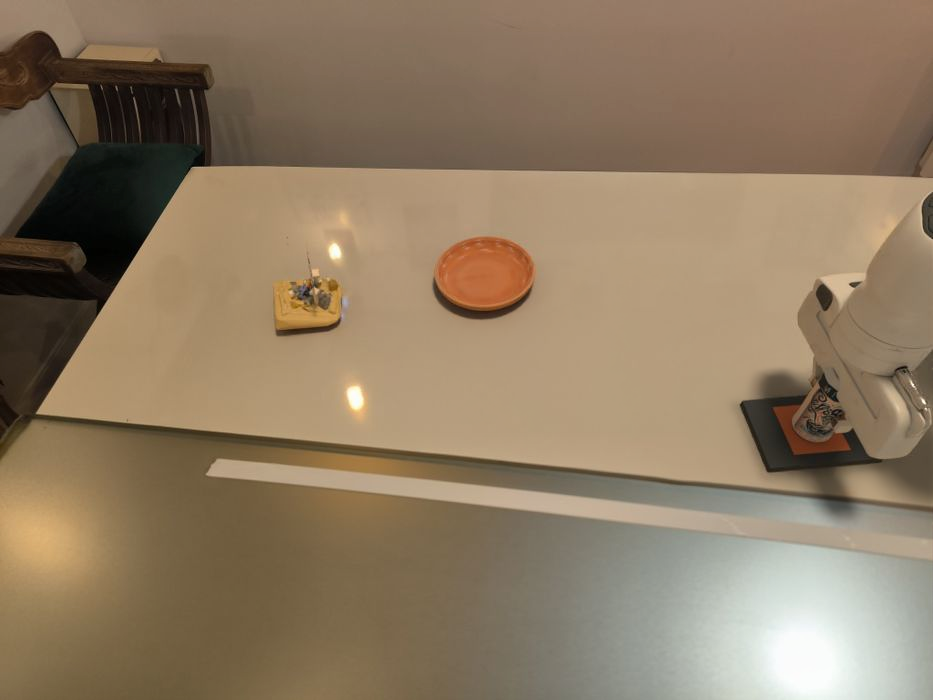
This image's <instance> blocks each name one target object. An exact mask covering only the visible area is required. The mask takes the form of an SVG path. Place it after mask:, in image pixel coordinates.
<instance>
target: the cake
mask: <svg viewBox="0 0 933 700" xmlns="http://www.w3.org/2000/svg"><path fill="white" fill-rule="evenodd" d="M286 239H289V237H288V236H286ZM306 246H308V245H307V243H306ZM306 254H307V262H308V263H307V264H308V270H309V273H310V278H304V279H297V280H296V279H295V280H279V281H276V282H274V283H273V284H272V285H273V286H272V288H273V290H272V291H273V308H274V322H275V329H276V330H277V331H282V330H283V331H284V330H294V329H295V330H296V329H297V330H298V329H307V328H308V329H309V328H321V327H328V326H331V325H333V324H335V323H338V322H339V319H341V316H342V298H343V296H344V295H343V294H344V293H343V288H342V286H341V284H340V282H338V281H337V280H336V279H333V278H331V277H321V276H320V275H321V274H320V269H319V268H312V266H311V260H310V255H309V251H308V248H306Z"/></svg>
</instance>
